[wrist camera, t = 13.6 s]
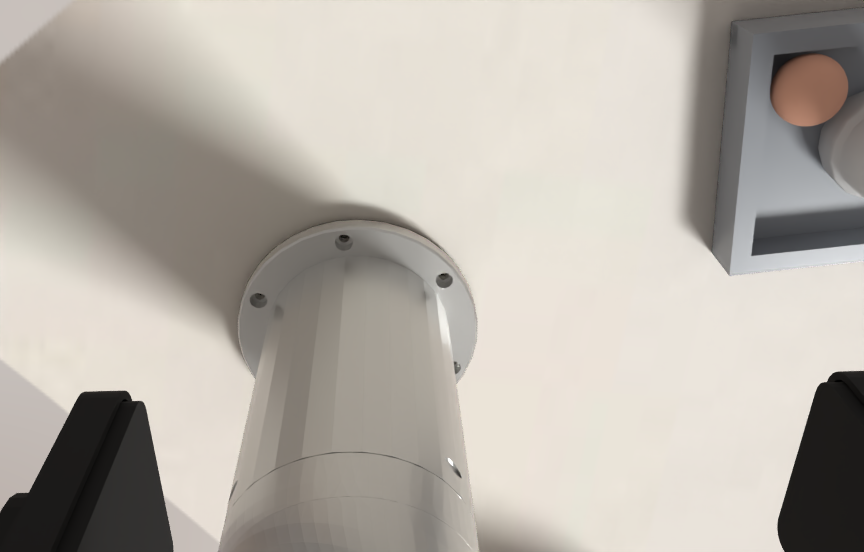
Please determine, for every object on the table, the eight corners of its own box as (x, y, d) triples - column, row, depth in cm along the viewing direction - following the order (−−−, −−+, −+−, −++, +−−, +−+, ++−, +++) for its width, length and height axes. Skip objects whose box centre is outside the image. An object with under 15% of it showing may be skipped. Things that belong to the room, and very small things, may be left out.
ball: (821, 109, 39) (856, 132, 36) (755, 116, 39) (784, 140, 36) (831, 41, 38) (868, 60, 35) (762, 49, 37) (792, 68, 35)
